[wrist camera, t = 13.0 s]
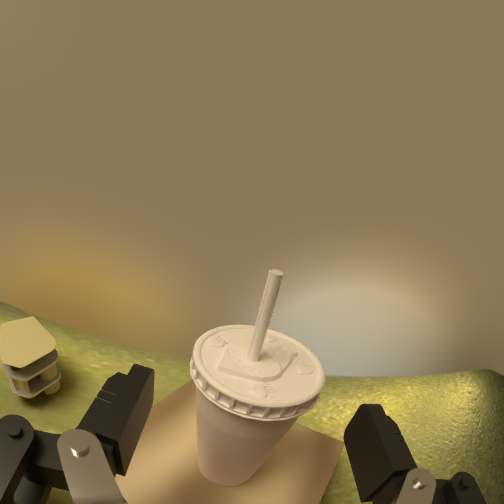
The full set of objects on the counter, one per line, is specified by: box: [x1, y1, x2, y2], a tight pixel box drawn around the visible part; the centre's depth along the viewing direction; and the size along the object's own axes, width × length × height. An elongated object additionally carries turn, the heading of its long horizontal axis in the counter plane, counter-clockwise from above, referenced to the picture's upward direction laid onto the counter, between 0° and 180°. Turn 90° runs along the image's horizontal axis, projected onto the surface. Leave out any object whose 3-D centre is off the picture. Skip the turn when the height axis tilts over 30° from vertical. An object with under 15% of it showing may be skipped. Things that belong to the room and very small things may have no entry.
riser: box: [115, 379, 344, 504], centre depth 16 cm, size 14×14×4 cm
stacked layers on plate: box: [0, 316, 61, 398], centre depth 19 cm, size 10×9×6 cm
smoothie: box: [190, 270, 325, 486], centre depth 14 cm, size 6×6×14 cm
